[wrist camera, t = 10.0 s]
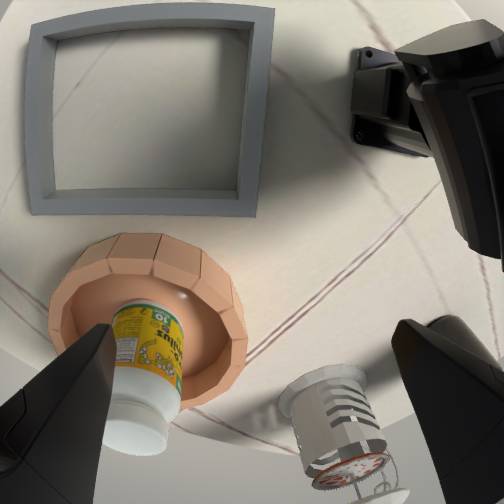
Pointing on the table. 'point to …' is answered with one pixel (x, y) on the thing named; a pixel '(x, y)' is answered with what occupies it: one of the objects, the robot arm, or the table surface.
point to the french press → (338, 431)
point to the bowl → (164, 292)
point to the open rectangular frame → (145, 199)
